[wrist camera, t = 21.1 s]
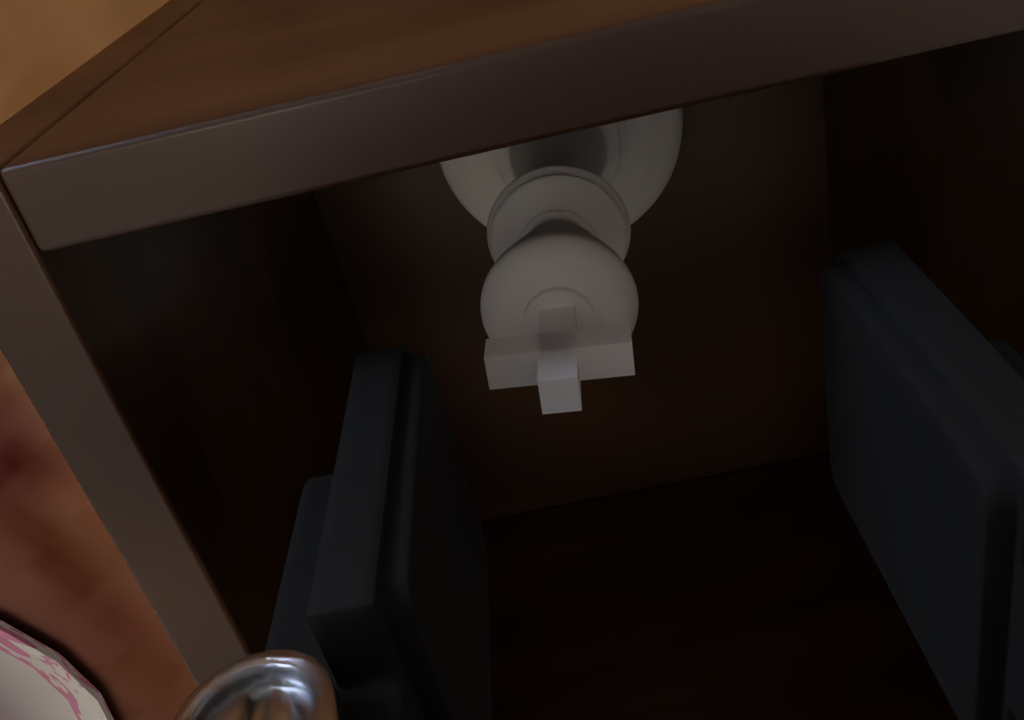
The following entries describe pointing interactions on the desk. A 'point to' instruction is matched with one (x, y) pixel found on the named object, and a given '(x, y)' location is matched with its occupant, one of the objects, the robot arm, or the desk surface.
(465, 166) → the chess piece
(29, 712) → the teacup
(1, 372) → the desk surface
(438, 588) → the robot arm
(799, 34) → the chest
